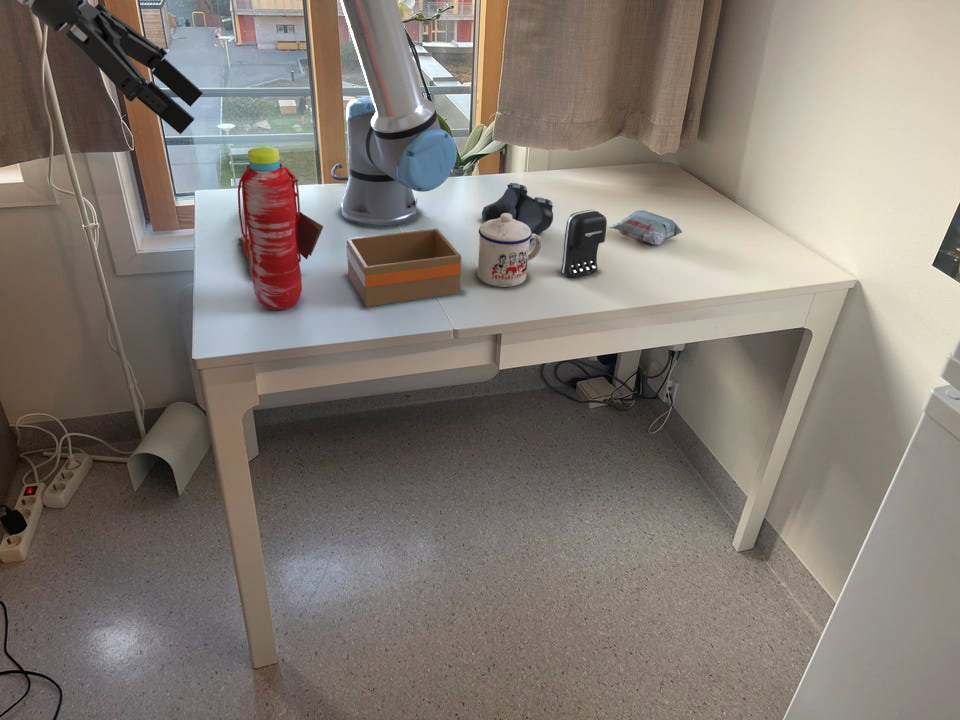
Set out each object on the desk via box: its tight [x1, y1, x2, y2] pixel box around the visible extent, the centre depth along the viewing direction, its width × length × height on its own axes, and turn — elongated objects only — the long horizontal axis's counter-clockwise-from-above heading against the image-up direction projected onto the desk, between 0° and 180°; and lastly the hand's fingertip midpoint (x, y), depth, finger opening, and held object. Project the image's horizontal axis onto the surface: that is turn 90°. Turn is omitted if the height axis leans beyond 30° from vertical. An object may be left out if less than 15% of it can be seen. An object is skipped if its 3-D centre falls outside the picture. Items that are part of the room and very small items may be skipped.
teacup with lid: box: [477, 213, 543, 288], centre depth 130 cm, size 12×9×12 cm
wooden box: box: [345, 228, 462, 308], centre depth 126 cm, size 12×16×7 cm
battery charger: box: [560, 209, 608, 278], centre depth 132 cm, size 7×4×11 cm, turn 120°
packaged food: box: [609, 209, 683, 246], centre depth 149 cm, size 9×12×5 cm
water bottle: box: [237, 146, 325, 311], centre depth 115 cm, size 12×8×25 cm, turn 121°
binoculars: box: [481, 182, 554, 244], centre depth 149 cm, size 16×7×10 cm, turn 32°
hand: (192, 112), depth 104 cm, fingers open, 13 cm apart
